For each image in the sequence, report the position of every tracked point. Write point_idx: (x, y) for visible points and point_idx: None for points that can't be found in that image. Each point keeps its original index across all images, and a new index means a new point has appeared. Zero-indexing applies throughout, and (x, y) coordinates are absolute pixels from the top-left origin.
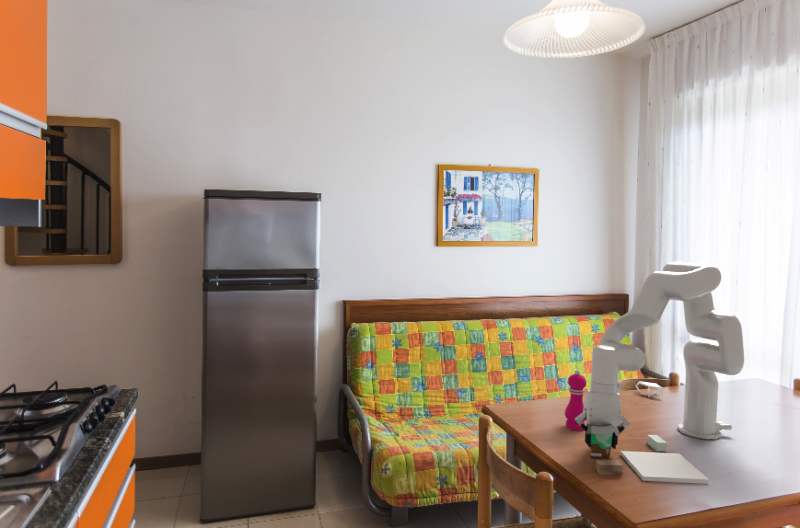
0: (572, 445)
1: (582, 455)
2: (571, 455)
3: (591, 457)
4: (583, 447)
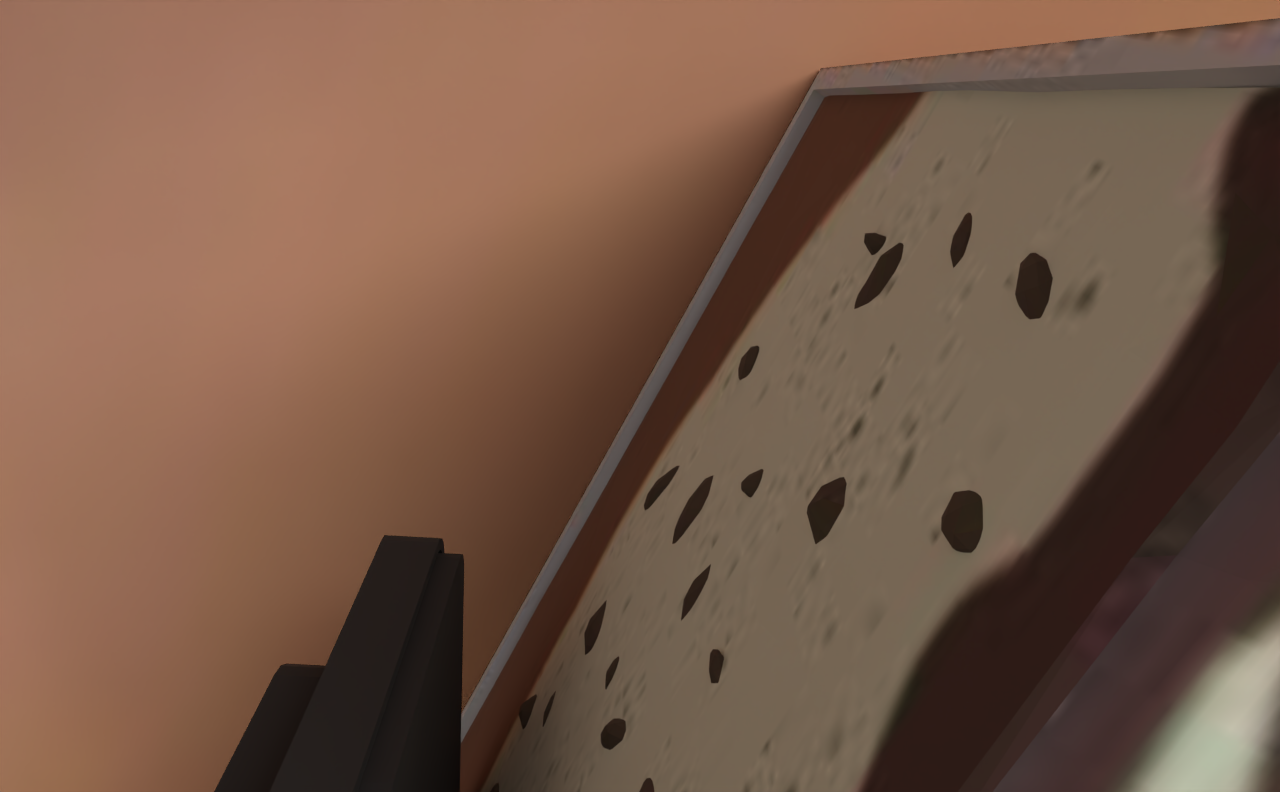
0: (153, 24)
1: (279, 645)
2: (5, 655)
3: None
4: (455, 160)
